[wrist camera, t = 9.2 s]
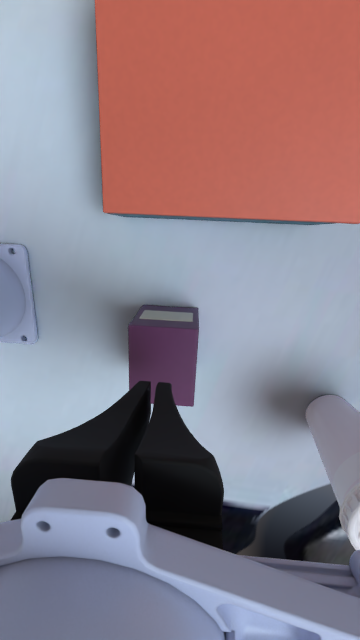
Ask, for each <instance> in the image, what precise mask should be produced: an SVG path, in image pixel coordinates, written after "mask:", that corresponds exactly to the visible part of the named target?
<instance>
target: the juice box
mask: <svg viewBox="0 0 360 640" xmlns="http://www.w3.org/2000/svg"><path fill="white" fill-rule="evenodd" d="M198 334H199V318H198V308H187V307H170V306H153V305H143V306H142V307H141V309H140V310H139V312H138V313H137V314H136V316H135V317H134V318H133V320H132V321H131V322H130V324H129V325H128V340H129V390H130V389H131V388H132V387H133V386H134V385H135V384H136V383H138V382H139V381H151V404H154V398H155V390H156V386H157V384H158V382H167V383H171V384H172V395H173V399H174V402H175V405H179V406H194V392H195V377H196V363H197V349H198Z"/></svg>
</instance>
